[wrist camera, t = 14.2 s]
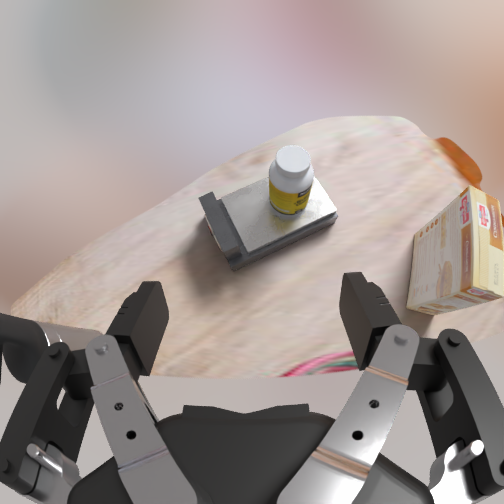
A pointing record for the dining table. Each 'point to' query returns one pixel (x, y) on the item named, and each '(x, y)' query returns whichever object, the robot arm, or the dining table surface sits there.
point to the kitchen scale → (231, 240)
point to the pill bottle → (290, 180)
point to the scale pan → (271, 214)
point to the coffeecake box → (459, 256)
